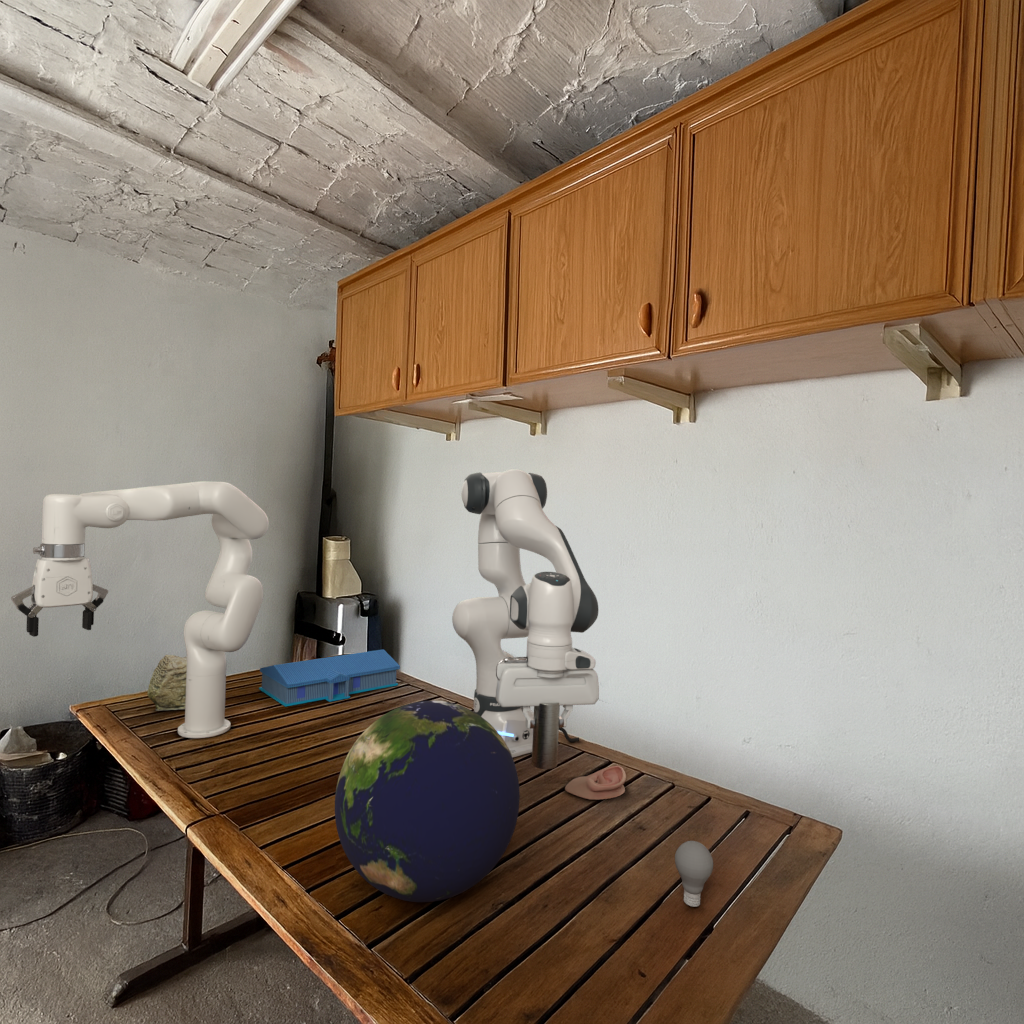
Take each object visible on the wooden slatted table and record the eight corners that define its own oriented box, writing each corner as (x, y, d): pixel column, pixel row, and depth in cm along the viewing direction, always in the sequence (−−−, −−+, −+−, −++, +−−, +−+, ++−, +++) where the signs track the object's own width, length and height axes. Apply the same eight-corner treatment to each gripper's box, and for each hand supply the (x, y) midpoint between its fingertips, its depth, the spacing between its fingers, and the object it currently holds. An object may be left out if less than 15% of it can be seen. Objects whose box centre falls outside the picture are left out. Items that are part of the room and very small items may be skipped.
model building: (289, 709, 186) (291, 675, 185) (258, 688, 204) (259, 657, 204) (403, 687, 212) (405, 657, 212) (366, 670, 230) (368, 643, 230)
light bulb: (667, 892, 105) (670, 833, 105) (702, 892, 106) (705, 833, 106) (680, 916, 99) (683, 853, 99) (717, 916, 100) (720, 853, 100)
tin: (562, 763, 124) (565, 700, 124) (547, 771, 120) (550, 706, 120) (541, 756, 127) (544, 694, 127) (526, 763, 123) (529, 700, 123)
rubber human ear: (563, 778, 138) (569, 757, 150) (563, 796, 138) (569, 774, 150) (625, 786, 136) (626, 764, 147) (624, 804, 136) (625, 781, 147)
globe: (289, 913, 96) (297, 717, 96) (396, 823, 124) (403, 671, 123) (466, 976, 85) (475, 755, 84) (540, 862, 113) (548, 695, 112)
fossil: (144, 707, 182) (145, 655, 182) (212, 696, 194) (213, 647, 194) (151, 716, 175) (153, 662, 175) (221, 703, 188) (223, 653, 188)
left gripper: (19, 555, 125) (16, 641, 126) (115, 552, 139) (113, 629, 139) (7, 552, 130) (4, 635, 130) (101, 549, 144) (99, 624, 144)
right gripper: (499, 661, 118) (496, 735, 118) (603, 659, 122) (600, 731, 123) (493, 653, 124) (490, 723, 124) (592, 652, 129) (589, 719, 129)
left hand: (60, 632), depth 135 cm, fingers open, 9 cm apart
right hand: (546, 727), depth 124 cm, fingers closed on tin, 5 cm apart
